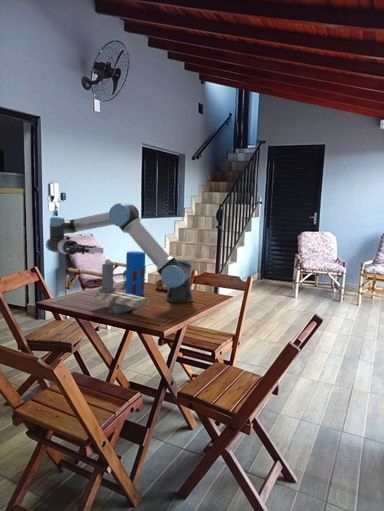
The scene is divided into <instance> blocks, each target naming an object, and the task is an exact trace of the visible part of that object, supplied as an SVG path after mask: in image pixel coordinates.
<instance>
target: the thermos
mask: <svg viewBox="0 0 384 511" xmlns="http://www.w3.org/2000/svg"><path fill="white" fill-rule="evenodd" d="M125 256H126V259H125V270H126V278H125V279H126V286H125V293H126V294H131V295H135V296H140V297H143V296H144V295H145V280H146V278H145V277H146V254H145V252H144V251H135V250H133V251H127V252H126V255H125Z"/></svg>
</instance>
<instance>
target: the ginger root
mask: <svg viewBox="0 0 384 511" xmlns="http://www.w3.org/2000/svg"><path fill="white" fill-rule="evenodd" d="M154 286H155V287H157V289H158V290H159V291H161V290H164V291H168V290H169V287H168V286H166V285H165V284H164V283H163V282H162V279H161V278H160V279H158V280H155V285H154Z"/></svg>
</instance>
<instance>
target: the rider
mask: <svg viewBox="0 0 384 511" xmlns="http://www.w3.org/2000/svg"><path fill="white" fill-rule="evenodd" d="M101 266H102V267H101V273H102V275H101V288H98V291H99V292H102V293H107V292H108V293H111V292H112V291H116V292H117V287H115V286H114V264H112V262H111V259H109V258H107V259H105V260H104V263H103V264H102V265H101Z"/></svg>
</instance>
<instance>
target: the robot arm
mask: <svg viewBox="0 0 384 511" xmlns="http://www.w3.org/2000/svg"><path fill="white" fill-rule="evenodd" d="M108 226H116V227H118V229H120V230H121V231H122V233H125V234H128V235H129V236H130V237H131V238H132V239H133V241H134V242H135V243H136V244H137V246H139V248H140V250H142V252H145V256H147V258H149V260H151V262H152V263H153V264H154V265H155V266H156V272H157V273H158V274H159V275H160V279H162V282H163V283H164V284H165V285H166V286H168V287H169V290H167V293H166V297H165V299H166V301H167V302H169V303H170V302H171V303H177V304H186V303H191V302H193V301H194V296H193V292H192V288H191V282H192V281H191V279H192V278H191V276H192V266H193V265H192V261H191V260H186V259H176V258H175V257H174V256H170V255H169V254H168V253H167V252H166V250H164V248H163V247H162V246H161V245H160V244H159V243H158V241H157V240H156V239H155V238H154V236H152V234H151V233H150V232H149V231H148V230H147V229H146V227H145V226H144V225H143V224H142V223H141V217H140V212H139V209H138V208H137V207H136V206H135V205H134V204H131V203H124V202H118V203H115V204H114V205H112V206H111V207H110V209H109V211H108V212H104V213H103V212H102V213H99V214H98V213H97V214H93V215H87V216H83V217H79V218H73V219H69V220H68V219H66V220H65V218H64V217H61V216H52V217H50V219H49V238H48V239H47V240H46V242H45V246H46V249H47V250H48V251H49V252H52V253H59V254H64V255H75V254H76V253H77V254H82V255H85V254H90V255H95V254H96V253H97V254H104V248H103V247H98V246H97V245H87V244H84V245H83V244H80V243H78V242H77V241H76V240H71V239H70V240H69V239H65V234H74V233H79V232H83V231H89V230H92V229H97V228H98V229H99V228H104V227H108Z"/></svg>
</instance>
